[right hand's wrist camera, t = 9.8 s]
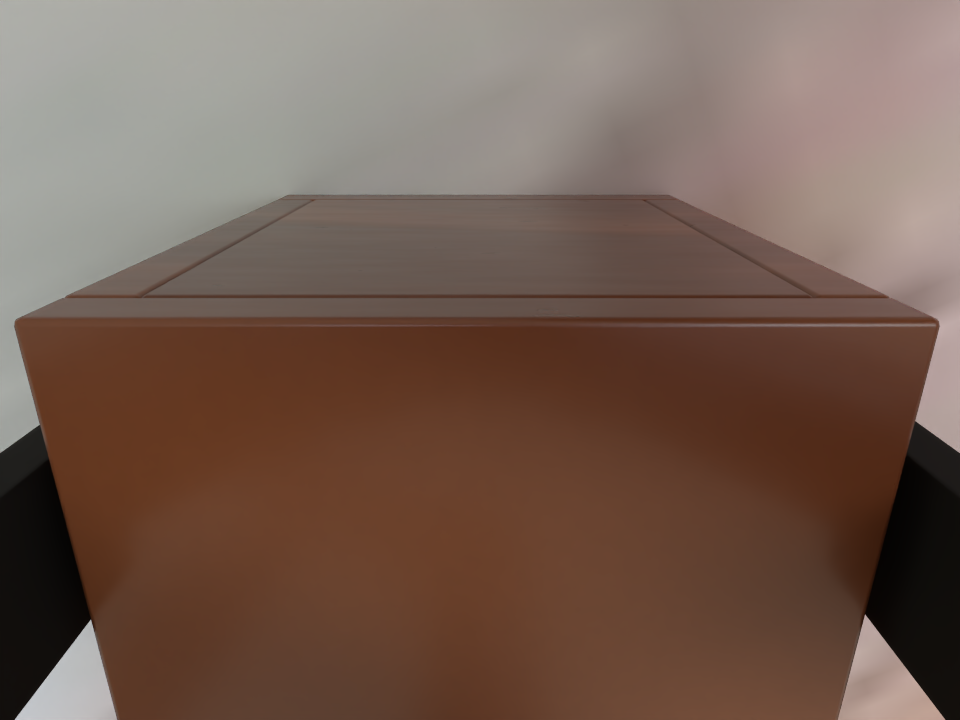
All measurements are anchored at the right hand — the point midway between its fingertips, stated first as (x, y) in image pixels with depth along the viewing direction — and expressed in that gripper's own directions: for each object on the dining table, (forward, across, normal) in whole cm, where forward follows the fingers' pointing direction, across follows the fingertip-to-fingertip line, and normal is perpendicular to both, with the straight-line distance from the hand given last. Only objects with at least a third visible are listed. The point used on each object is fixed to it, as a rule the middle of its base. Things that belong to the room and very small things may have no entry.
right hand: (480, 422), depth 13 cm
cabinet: (+7, 0, -6) cm, 9 cm away
